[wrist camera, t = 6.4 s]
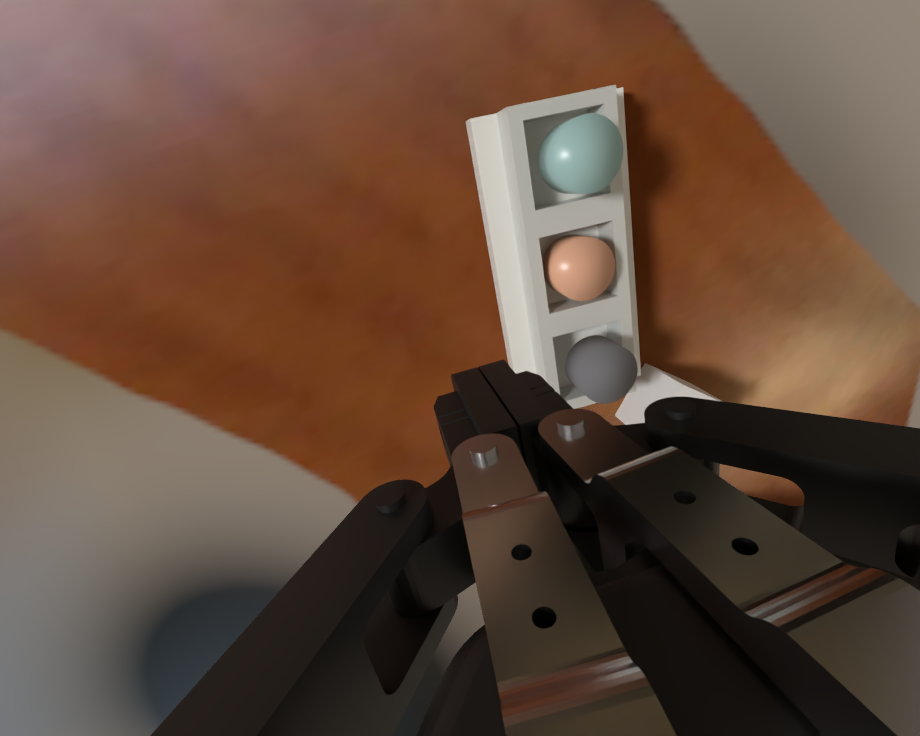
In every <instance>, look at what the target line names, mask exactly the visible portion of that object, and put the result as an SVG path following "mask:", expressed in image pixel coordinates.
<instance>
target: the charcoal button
mask: <svg viewBox="0 0 920 736" xmlns="http://www.w3.org/2000/svg"><path fill="white" fill-rule="evenodd" d="M565 372H566V376H567V378H568V380H569V381H570V382H571V383H572V384H573V385H574V386H575V387H576V388H577V389H579V390H580V391H581V392H582V393H583V394H584V395H585V396H587V397H588V398H589V399H590V400H592V401H594V402H597V403H604V404H605V403H611V402H614V401H617V400H619V399H620V398H622V397H623V396H625V395H626V394H627V393H628V392H629V391H630V389H631V388H632V386H633V385H634V383H635V380H636V377H637V372H638V366H637V361H636V359H635V357H634V355H633V354H632V353H631V352H630V351H629V350H628V349H626V348H624V347H622V346H621V345H619V344H617V343H615V342H614V341H612V340H610V339H608V338H607V337H604V336H600V335H592V336H588V337H585V338H583V339H581V340H580V341H578V342H577V343H576V344H575V345H574V346H573V347H572V348H571V350H570V351H569V353H568V355H567V358H566V361H565Z"/></svg>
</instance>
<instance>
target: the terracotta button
mask: <svg viewBox="0 0 920 736" xmlns="http://www.w3.org/2000/svg"><path fill="white" fill-rule="evenodd" d="M542 264H543V272H544V279H545V281H546V283H547V285H548V286H549V287H550V288H551V289H553V290H554V291H556V292H558V293H560V294H562V295H564V296H566V297H568V298H571V299H573V300H576V301H588V300H591V299H594V298H596V297H598V296H599V295H601V294H602V293H603V292H604V291H605V290H606V289H607V287H608V286H609V285H610V283H611V281H612V279H613V276H614V272H615V259H614V255H613V253H612V251H611V249H610V247H609V246H608V245H607V244H606V243H605V242H603V241H602V240H599V239H597V238H592V237H587V236H581V235H574V234H570V235H565V236H562V237H560V238H558V239H557V240H555V241H554V242H553V243H552V244H551V245H550V246H549V248H548V249H547V251H546V252H545V255H544V257H543V262H542Z"/></svg>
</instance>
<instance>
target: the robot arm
mask: <svg viewBox="0 0 920 736" xmlns="http://www.w3.org/2000/svg"><path fill="white" fill-rule="evenodd" d="M451 379H452V383H453V388H454V392H452V393H449V394H445V395H442V396H438V398H437V400H436V403H435V405H434V410H435V414H436V418H437V422H438V425H439V429H440V433H441V436H442V440H443V444H444V448H445V451H446V455H447V458H448V460H449V463H450V468H449V470H448V471H447V473H446V474H445V475H444V476H443V477H442V478H441V479H440V480H438V481H437V482H435V483H434V484H432V485H430V486H429V487H427V488H424V487H423V485H421V484H420V483H418V482H416V481H412V480H396V481H391V482H388V483H385V484H383V485H380V486H378V487H376V488H375V489H373V490H372V491H370V492H369V493H368V494H366V495H365V496H364V497H363V498H362V500H361V501H360V502H359V503H358V504H357V505H356V506H355V507H354V509H353V510H352V511H351V512H350V513H349V514H348V515H347V516H346V518H345V519H344V520H343V521H342V522H341V523H340V524H339V525H338V526H337V528H336V529H335V530H334V531H333V532H332V533H331V534H330V535H329V537H328V538H327V539H326V540H325V541H324V542H323V543H322V544H321V545H320V547H319V548H318V549H317V550H316V551H315V552H314V553H313V554H312V556H311V557H310V558H309V559H308V560H307V561H306V562H305V563H304V564H303V566H302V567H301V568H300V569H299V570H298V571H297V572H296V574H295V575H294V576H293V577H292V578H291V579H290V580H289V581H288V582H287V584H286V585H285V586H284V587H283V588H282V589H281V590H280V591H279V592H278V594H277V595H276V596H275V597H274V598H273V599H272V600H271V601H270V603H269V604H268V605H267V606H266V607H265V608H264V609H263V610H262V612H261V613H260V614H259V615H258V616H257V617H256V618H255V619H254V620H253V622H252V623H251V624H250V625H249V626H248V627H247V628H246V629H245V631H244V632H243V633H242V634H241V635H240V636H239V637H238V638H237V639H236V641H235V642H234V643H233V644H232V645H231V646H230V648H228V650H227V651H226V652H225V653H224V654H223V655H222V656H221V657H220V659H219V660H218V661H217V662H216V663H215V664H214V665H213V666H212V667H211V669H210V670H209V671H208V672H207V673H206V674H205V675H204V676H203V678H202V679H201V680H200V681H199V682H198V683H197V684H196V685H195V686H194V688H193V689H192V690H191V691H190V692H189V693H188V694H187V696H186V697H185V698H184V699H183V700H182V701H181V702H180V703H179V705H177V707H176V708H175V709H174V710H173V711H172V712H171V713H170V714H169V716H168V717H167V718H166V719H165V720H164V721H163V722H162V723H161V725H160V726H159V727H158V728H157V729H156V730H155V731H154V732H153V733H152V735H151V736H392V734H393V733H394V731H395V729H396V727H397V725H398V723H399V721H400V719H401V717H402V715H403V713H404V711H405V709H406V707H407V705H408V703H409V701H410V699H411V698H412V696H413V694H414V692H415V690H416V688H417V686H418V684H419V682H420V680H421V678H422V676H423V674H424V672H425V670H426V668H427V666H428V664H429V662H430V660H431V659H432V656H433V655H434V653H435V651H436V649H437V647H438V645H439V643H440V641H441V639H442V637H443V635H444V633H445V631H446V629H447V627H448V625H449V623H450V621H451V619H452V617H453V616H454V614H455V611H456V609H457V605H458V596H457V595H458V594H459V593H461V592H462V591H464V590H465V589H466V588H468V587H469V586H471V585H472V584H474V583H475V582H476V585H477V591H478V595H479V600H480V605H481V610H482V615H483V619H484V624H485V625H484V626H482V627H481V628H480V629H479V630H477V631H476V632H475V633H474V634H473V635H472V636H471V637H470V638H469V639H468V640H467V641H466V642H465V643H464V644H463V646H462V647H461V648H460V650H459V651H458V652H457V654H456V655H455V656H454V658H453V659H452V661H451V663H450V665H449V666H448V668H447V670H446V671H445V673H444V674H443V676H442V679H441V681H440V683H439V685H438V687H437V689H436V692H435V694H434V696H433V699H432V701H431V703H430V706H429V708H428V710H427V712H426V715H425V717H424V719H423V721H422V724H421V726H420V729H419V731H418V733H417V735H416V736H920V429H919V428H912V427H905V426H898V425H890V424H883V423H876V422H868V421H861V420H854V419H846V418H839V417H832V416H825V415H817V414H810V413H803V412H795V411H788V410H781V409H774V408H766V407H759V406H752V405H744V404H737V403H730V402H722V401H715V400H708V399H701V398H693V397H668V398H663V399H660V400H657V401H655V402H653V403H651V404H650V405H648V407H647V408H646V409H645V412H644V419H645V423H638V424H629V425H617V426H613V425H612V424H610V423H609V422H608V421H606V420H605V419H604V418H603V417H601V416H600V415H599V414H597V413H595V412H593V411H590V410H585V409H573V408H572V407H571V406H570V405H569V404H568V403H567V402H566V401H565V400H564V399H563V398H562V397H561V396H560V395H559V394H558V393H557V392H555V390H554V389H553V388H552V387H551V386H550V385H549V384H548V383H547V382H546V381H545V380H544V379H543V378H542V377H541V376H540V375H537V374H534V373H532V372H529V371H524V372H520V373H517V374H516V373H515V372H514V371H513V370H512V369H511V367H510V366H509V365H508V364H507V363H506V362H505V361H504V360H501V361H497V362H494V363H490V364H487V365H483V366H480V367H478V369H477V368H473V369H469V370H466V371H462V372H459V373H455V374H452V375H451ZM719 464H724V465H728V466H733V467H738V468H742V469H747V470H752V471H756V472H761V473H766V474H770V475H775V476H780V477H783V478H786V479H789V480H791V481H792V482H794V483H795V484H797V485H798V486H799V487H800V488H801V490H802V491H803V493H804V496H805V501H804V505H803V506H788V505H784V504H780V503H776V502H772V501H768V500H764V499H760V498H756V497H752V496H748V495H745V494H744V493H743V492H741V491H740V490H738V489H737V488H735V487H734V486H732V485H731V484H730V483H728V482H727V481H725V480H724V479H722V478H721V477H719Z"/></svg>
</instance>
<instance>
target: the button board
mask: <svg viewBox="0 0 920 736" xmlns="http://www.w3.org/2000/svg"><path fill="white" fill-rule="evenodd" d="M588 113H596V114H600V115H603V116H605V117H607V118H609V119H610V120H611V121H612V122H613V123H614V124H615V125H616V127H617V128H618V130H619V132H620V134H621V137H622V141H623V159H622V163H621V166H620V169H619V171H618V173H617V175H616V176H615V178H614V179H613V180H612V181H611V183H610V184H609V185H607V186H606V187H605V188H603V189H602V190H600V191H597V192H594V193H589V194H564V193H559V192H557V191H555V190H553V189H552V188H550V187H549V186H548V185H547V183H546V182H545V181H544V179H543V177H542V175H541V172H540V169H539V162H538V158H539V150H540V146H541V144H542V141H543V139H544V138H545V136H546V135H547V133H548V132H549V131H550V130H551V129H552V128H553V127H554V126H556V125H557V124H559V123H561V122H564V121H567V120H569V119H572V118H575V117H578V116H580V115H583V114H588ZM466 126H467V132H468V137H469V143H470V149H471V154H472V160H473V166H474V171H475V177H476V183H477V188H478V194H479V200H480V205H481V211H482V217H483V222H484V228H485V234H486V239H487V245H488V251H489V256H490V262H491V267H492V273H493V279H494V284H495V290H496V296H497V301H498V307H499V313H500V318H501V324H502V330H503V335H504V341H505V347H506V352H507V358H508V364H509V366H510V367H511V369H512V370H513V371H514V372H515V373H516V374H517V373H520V372H524V371H529V372H532V373H534V374H537V375H540V376H541V377H542V378H543V379H544V380H545V381H546V382H547V383H548V384H549V385H550V386H551V387H552V388H553V389H554V390H555V392H557V393H558V394H559V395H560V396H561V397H562V398H563V399H564V400H565V401H566V402H567V403H568V404H569V405H570V406H571V407H572V408H573V409H576V408H580V407H583V406H587V405H590V404H594V403H597V402H594V401H592V400H590V399H589V398H588V397H587V396H585V395H584V394H583V393H582V392H581V391H580V390H579V389H577V388H576V387H575V386H574V385H573V384H572V383H571V382H570V381H569V380H568V378H567V376H566V372H565V361H566V358H567V355H568V353H569V351H570V350H571V348H572V347H573V346H574V345H575V344H576V343H577V342H578V341H580V340H581V339H583V338H585V337H588V336H592V335H600V336H604V337H607V338H608V339H610V340H612V341H614V342H615V343H617V344H619V345H621V346H622V347H624V348H626V349H628V350H629V351H630V352H631V353H632V354H633V355H634V357H635V359H636V361H637V366H638V372H637V376H640V375H641V366H640V350H639V334H638V318H637V302H636V286H635V270H634V254H633V238H632V222H631V206H630V190H629V174H628V158H627V142H626V126H625V110H624V94H623V87H622V88H617V89H616V85H612V86H607V87H602V88H598V89H593V90H588V91H583V92H578V93H573V94H568V95H563V96H559V97H554V98H549V99H544V100H539V101H534V102H529V103H524V104H520V105H515V106H510V107H506V108H505V109H503V110H501V111H500V112H498V113H496V114H491V115H486V116H481V117H476V118H472V119H469V120H468V121H466ZM570 234H574V235H581V236H587V237H592V238H597V239H599V240H602V241H603V242H605V243H606V244H607V245H608V246H609V247H610V249H611V251H612V253H613V255H614V259H615V272H614V276H613V279H612V281H611V283H610V285H609V286H608V287H607V289H606V290H605V291H604V292H603V293H602V294H601V295H599V296H598V297H596V298H594V299H591V300H588V301H576V300H573V299H571V298H568V297H566V296H564V295H562V294H560V293H558V292H556V291H554V290H553V289H551V288H550V287H549V286H548V285H547V283H546V281H545V279H544V272H543V264H542V262H543V257H544V255H545V252H546V251H547V249H548V248H549V246H550V245H551V244H552V243H553V242H554V241H555V240H557V239H558V238H560V237H562V236H565V235H570ZM636 391H637V390H636V380H635V383H634V385H633V386H632V388H631V389H630V391H629V392H628V393H627V394H629V393H632V392H636Z"/></svg>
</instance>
